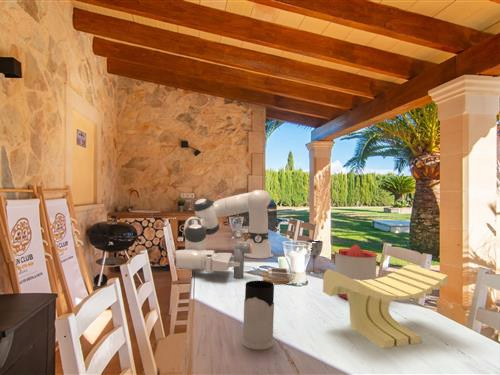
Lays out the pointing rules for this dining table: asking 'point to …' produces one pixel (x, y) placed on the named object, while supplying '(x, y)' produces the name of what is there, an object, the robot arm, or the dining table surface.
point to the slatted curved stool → (383, 301)
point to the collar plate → (277, 275)
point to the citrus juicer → (355, 264)
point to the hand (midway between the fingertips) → (240, 261)
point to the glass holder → (258, 315)
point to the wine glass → (315, 253)
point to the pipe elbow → (241, 258)
